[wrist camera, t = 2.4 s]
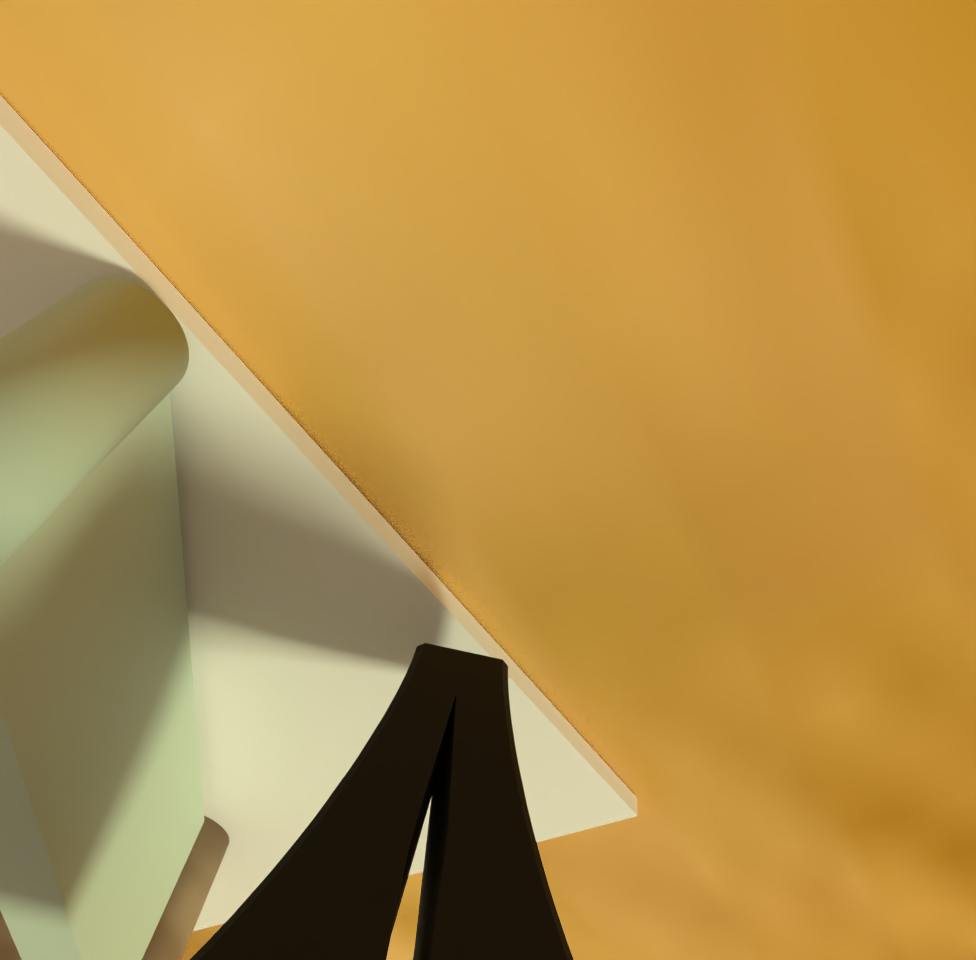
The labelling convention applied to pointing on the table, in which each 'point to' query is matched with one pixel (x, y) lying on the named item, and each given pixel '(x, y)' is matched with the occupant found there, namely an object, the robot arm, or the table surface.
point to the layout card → (276, 569)
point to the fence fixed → (170, 899)
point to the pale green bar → (93, 628)
